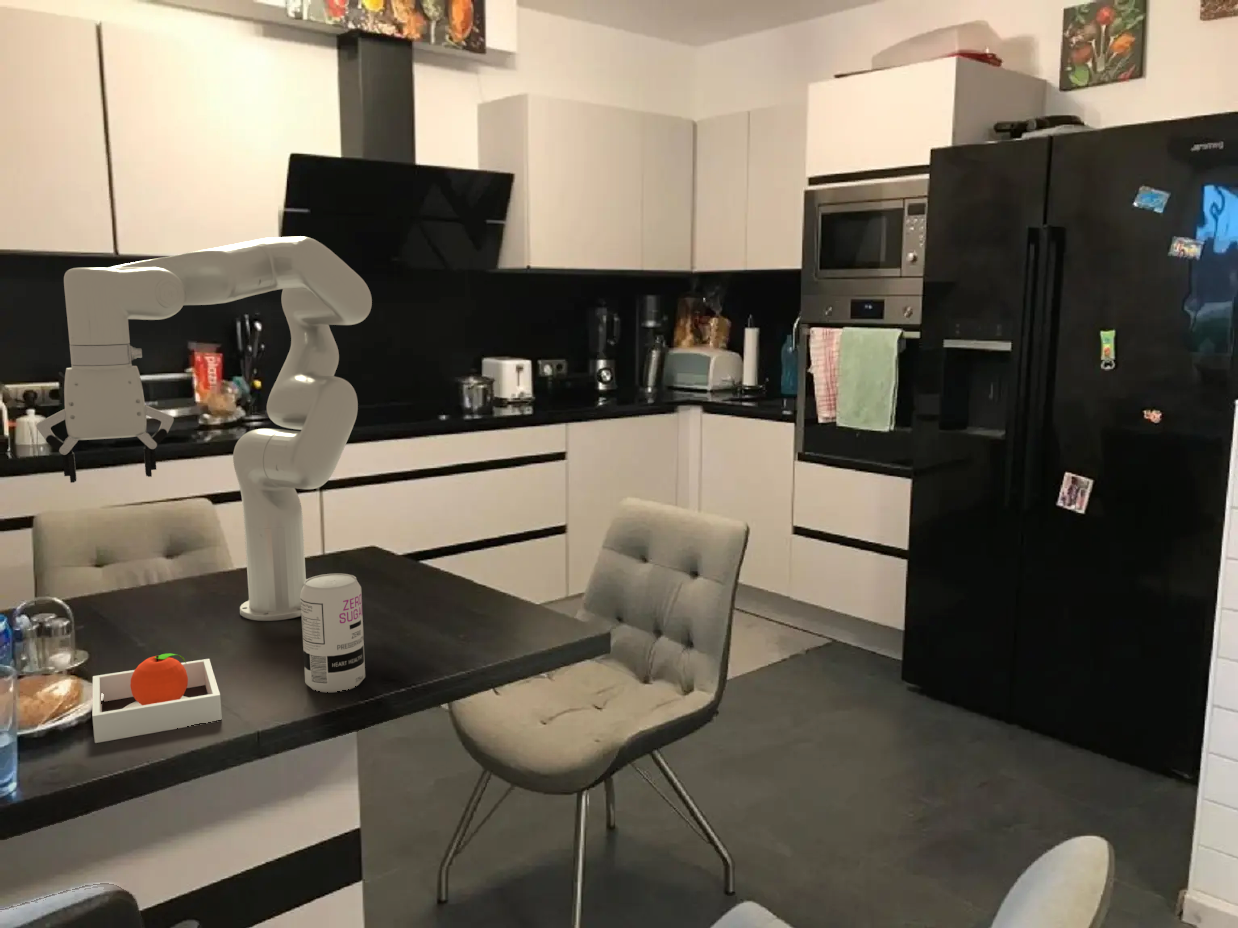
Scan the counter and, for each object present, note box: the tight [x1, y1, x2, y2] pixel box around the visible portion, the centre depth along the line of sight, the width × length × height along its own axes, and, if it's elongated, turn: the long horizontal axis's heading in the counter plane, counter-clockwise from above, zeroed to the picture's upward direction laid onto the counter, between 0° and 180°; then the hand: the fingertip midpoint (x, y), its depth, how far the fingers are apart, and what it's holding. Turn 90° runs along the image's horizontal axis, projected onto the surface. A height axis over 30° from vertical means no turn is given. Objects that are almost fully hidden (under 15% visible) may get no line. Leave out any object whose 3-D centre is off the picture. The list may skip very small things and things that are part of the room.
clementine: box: [130, 653, 188, 705], centre depth 134 cm, size 8×7×7 cm
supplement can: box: [300, 573, 366, 693], centre depth 142 cm, size 8×8×15 cm
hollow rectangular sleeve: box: [91, 658, 223, 744], centre depth 134 cm, size 15×15×4 cm
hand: (111, 478), depth 145 cm, fingers open, 9 cm apart
